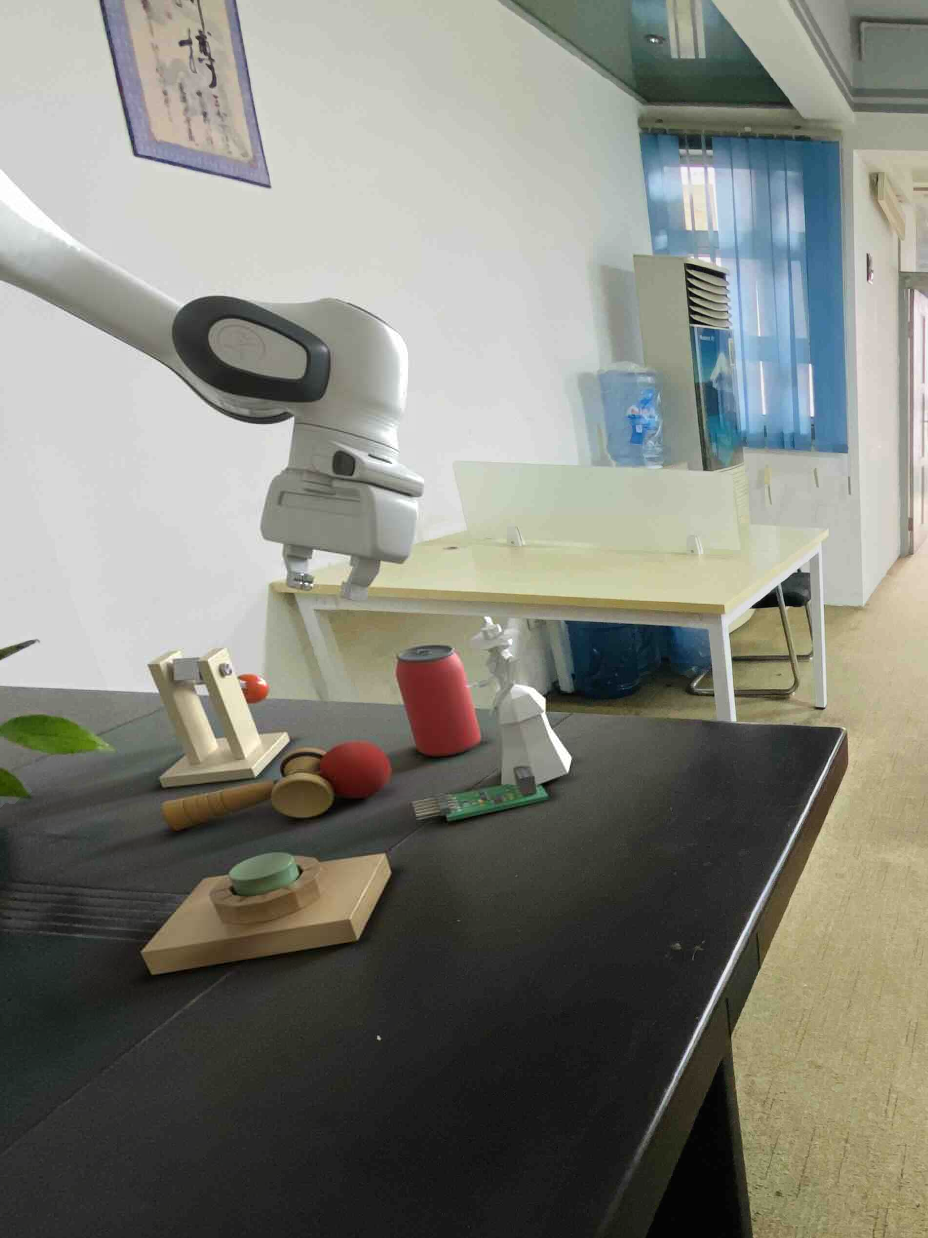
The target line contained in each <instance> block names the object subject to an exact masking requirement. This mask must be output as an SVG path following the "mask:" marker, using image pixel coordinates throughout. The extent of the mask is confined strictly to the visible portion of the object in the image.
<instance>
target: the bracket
mask: <svg viewBox="0 0 928 1238" xmlns="http://www.w3.org/2000/svg"><path fill="white" fill-rule="evenodd" d="M179 658H184V656H183V654H182V653H181V650H169V651H166V652H165V653H163V654H162V655H160V656H158V657H157V658H155V659H153V660H152V661H151V662H150V661H149V663H147V664H146V665H147V667H148V670H149V673H150V674H151V677H152V679H153V682H154V685H155V686H156V689H157V691H158V693H159V696H160V698H161V701H162V703H163V706H164V707H165V710H166V713H167V716H168V717H169V720H170V722H171V724H172V727H173V729H174V731H175V734H176V736H177V738H178V739H177V740H178V741H179V744H180V746H181V749H182V751H183V753H184V755H183V757H180V759H179V760H177V761H176V762H175V763H174V764H172V766H171V767H170V768H168V769H167V770H166V771H165V772H164V773H163V774H162V775H160V776H159V777H158V780H159V782H160V784H161V786H162V788H171V787H181V786H189V785H190V786H191V785H198V784H210V783H219V782H228V781H237V780H246V779H255V778H256V777H258V776H259V774H260V773H261V772H262V771H263V770H264V769H265V768H266V767H267V766H268V765H269V764H270V763H271V761H272V760H273V759H274V758H276V756H277V755H278V754H279V753H280V752H281V751H282V750H283V748H285V747H286V745H288V744H289V742H290V737H289V734H288V732H287V731H283V732H271V733H261V734H259V732H258V729H257V726H256V724H255V721H254V718H253V716H252V714H251V711H250V708H249V704H247V703H246V700H245V697H244V695H243V692H242V689H241V687H240V684H239V681H238V679H237V676H238V675H237V674H236V670H235V668H234V666H233V662H232V660H231V657H230V655H229V652H228V650H227V648H226V647H215V648H213V649H212V650H210V651H209V652H207V653H206V654H204V655H203V656H202V657H199V658H200V659H199V660H197V661H196V663H197V665H198V668H199V670H200V673H201V675H202V678H203V680H204V683H205V684H204V686H205V688H206V690H207V692H208V695H209V698H210V700H211V703H212V706H213V708H214V710H215V713H216V716H217V718H218V721H219V723H220V726H221V728H222V731H223V733H224V736H225V737H219V738H216V737H215V734H214V732H213V729H212V727H211V725H210V722H209V719H208V716H207V715H206V711H205V709H204V707H203V705H202V703H201V700H200V697H199V695H198V692H197V690H196V687H195V685H191V686H190V685H187V684H183V683H180V682H176V681H174V673H173V661H172V659H179Z"/></svg>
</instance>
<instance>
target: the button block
mask: <svg viewBox="0 0 928 1238" xmlns="http://www.w3.org/2000/svg"><path fill="white" fill-rule="evenodd" d="M292 856H293V858H294V861H295V863H296V866H297V868H298V871H299V874H300V876H299V879H298V880H296V881H294V882H293V883H291V884H289V885H288V886H286V887H284V888H281V889H278V890H275V891H273V892H270V893H267V894H263V895H256V896H250V897H243V896H238V895H237V894H236V892H235V889H234V887H233V884H232V882H231V880H230V877H229V874H226V875H224V874H223V875H218V876H211V877H204V878H202V880H201V881H200V882H199V883H198V884H197V885H196V887H195V888H194V889H193V890H192V892H190V894H189V895H188V896H187V897H186V898H185V900H184V901H182V903H181V904H180V905H179V907H178V908H177V909H176V910H175V911H174V912H173V914H172V915H171V916H170V917H169V918H168V920H167V921H166V922H165V923H164V924H163V925H162V926H161V928H160V929H159V930H158V931H157V932H156V934H155V935H154V936H153V937H152V938H151V939H150V940H149V942H148V943H147V944H146V945H145V947H144V948H143V949H142V950H141V951H140V955H141V957H142V959H143V961H144V962H145V965H146V966H147V969H148V970H149V973H150V974H151V975H152V976H155V975H161V974H166V973H168V974H169V973H172V972H180V971H185V970H190V969H197V968H203V967H208V966H214V965H221V964H226V963H233V962H238V961H245V960H250V959H257V958H263V957H268V956H274V955H280V954H286V953H292V952H298V951H304V950H310V949H316V948H321V947H322V948H323V947H328V946H333V945H334V946H335V945H340V944H346V943H347V944H348V943H352V942H357V941H359V939H360V937H361V935H362V933H363V931H364V929H365V926H366V925H367V922H368V921H369V919H370V917H371V915H372V912H373V911H374V909H375V907H376V905H377V903H378V901H379V899H380V897H381V895H382V893H383V891H384V889H385V887H386V886H387V883H388V881H389V879H390V877H391V875H392V871H391V868H390V864H389V861H388V858H387V855H386V853H375V854H370V855H369V854H368V855H363V856H362V855H361V856H355V857H348V858H340V859H333V860H326V861H319V860H318V859H317V858H316V857H309V856H304V855H292Z"/></svg>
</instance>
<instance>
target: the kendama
mask: <svg viewBox="0 0 928 1238" xmlns="http://www.w3.org/2000/svg"><path fill="white" fill-rule="evenodd" d="M392 770H393V769H392V766H391V762H390V760H389V758H388V756H387V754H386V753H385V752H384V751H383V750H382V749H381V748H380V747H378V746H377V745H374V744H372V743H370V742H366V741H357V740H356V741H346V742H342V743H339V744H337V745H335V746H333V747H332V748H330V749H329V750H327V751H324V750H323V749H320V748H317V747H298V748H295V749H293V750H291V751H289V752H287V753H286V754H285V755H284V756H283V757H282V759H281V761H280V764H279V772H280V775H281V776H282V777H281V778H279V779H274V780H269V781H263V782H256V783H250V784H244V785H239V786H233V787H229V788H225V789H222V790H215V791H212V792H207V793H202V794H198V795H192V796H188V797H183V798H178V799H172V800H167V801H163V802H162V804H161V807H160V808H161V809H160V811H161V814H162V817H163V820H164V822H165V823H166V824H167V826H168V827H169V828H170V829H171V830H173V831H174V832H175V831H176V832H178V831H182V830H185V829H187V828H190V827H193V826H195V825H198V824H202V823H204V822H207V821H210V820H213V819H217V818H219V817H224V816H227V815H228V814H231V813H235V812H239V811H241V810H245V809H248V808H250V807H253V806H256V805H259V804H261V803H264V802H266V801H269V800H270V801H271V804H272V807H273V808H274V809H275V810H276V811H277V812H279V813H280V814H282V815H284V816H287V817H291V818H296V819H308V818H313V817H316V816H320V815H322V814H323V813H325V812H326V811H327V810H329V808H330V807H331V806H332V804H333V801H334V797H335V795H336V796H339V797H342V798H345V799H362V798H366V797H369V796H372V795H374V794H376V793H378V792H379V791H381V790H382V789H383V788H384V787H385V786H386V785H387V783H388V782H389V780H390V778H391V776H392Z"/></svg>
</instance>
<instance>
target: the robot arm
mask: <svg viewBox="0 0 928 1238" xmlns="http://www.w3.org/2000/svg"><path fill="white" fill-rule="evenodd" d="M0 281H2V282H3V283H6V284H8V285H10V286H13V287H16V288H18V289H20V290H23V291H25V292H27V293H29V294H32V295H34V296H35V297H37V298H40V299H41V300H44V301H45V302H47V303H49V304H50V305H53V306H55V307H57V308H59V309H60V310H62V311H64V312H67V313H68V314H70V315H72V316H74V317H75V318H78V319H80V320H82V321H83V322H85V323H87V324H88V325H91V326H93V327H95V328H97V329H98V330H100V331H102V332H104V333H106V334H107V335H109V336H111V337H112V338H115V339H118V340H119V341H121V342H123V343H125V344H126V345H128V346H130V347H132V348H134V349H136V350H137V351H139V352H141V353H143V354H145V355H146V356H148V357H150V358H152V359H154V360H155V361H157V362H159V363H161V364H162V365H164V366H165V367H166V368H167V369H169V370H170V371H171V372H173V373H174V374H175V375H176V376H177V377H178V378H179V379H180V380H182V381H183V383H184V384H185V385H186V386H188V388H189V389H190V390H191V391H192V392H193V393H194V394H195V395H196V396H198V397H199V399H201V401H203V402H204V403H205V404H207V405H208V406H209V407H211V408H212V409H213V410H215V411H216V412H218V413H220V414H222V415H223V416H226V417H228V418H230V419H233V420H235V421H239V422H243V423H247V424H254V425H273V424H274V425H275V424H279V423H282V422H285V421H288V420H290V419H292V418H294V419H293V420H294V421H293V428H292V433H291V442H290V447H289V456H288V461H287V466H286V467H285V468H284V469H282V470H281V471H280V473H279V474H277V475H275V476H274V477H273V478H272V480H271V481H270V484H269V487H268V489H267V492H266V497H265V501H264V504H263V505H264V506H263V510H262V514H261V518H260V525H259V528H260V529H259V530H260V533H261V536H262V538H263V539H264V540H265V541H268V542H273V543H277V544H282V553H281V555H282V558H283V562H284V565H285V569H286V578H285V579H286V580H285V585H286V587H287V588H289V589H292V590H293V589H294V590H298V591H299V590H300V591H306V592H310V591H312V589H313V586H314V585H313V583H314V579H315V575H312V574H311V572H310V562H309V560H312V559H313V553H314V550H315V551H321V552H325V553H326V552H327V553H332V554H338V555H344V556H350V560H349V566H350V567H352V568H351V571H350V573H349V575H348V577H347V580H346V581H341V584H340V592H339V595H340V597H341V598H342V599H344V600H347V601H354V602H359V603H364V602H366V601H367V600H368V595H369V588H370V586H371V585H372V583H373V582H374V581H375V579H376V578H377V576H378V575H379V573H380V570H381V562H383V563H391V564H397V565H403V564H405V562H406V561H407V560H408V558H409V557H410V556H411V554H412V552H413V548H414V543H415V538H416V532H417V526H418V518H419V504H418V502H417V500H416V499H415V498H421V497H422V496H423V494H424V491H425V479H424V478H423V477H422V476H420V475H419V474H417V473H416V472H414V471H413V470H411V469H409V468H408V467H406V466H405V465H403V464H402V463H401V462H399V461H398V459H399V452H400V448H399V441H398V428H399V425H400V423H401V421H402V419H403V417H404V415H405V411H406V405H407V397H408V388H409V372H410V371H409V368H410V367H409V366H410V365H409V354H408V350H407V349H408V348H407V346H406V344H405V343H406V342H405V341H404V340H403V338H402V337H401V336H400V334H399V333H398V332H397V330H396V329H394V328H393V327H392V326H390V325H389V324H388V323H387V322H386V321H384V320H383V319H381V318H380V317H378V316H377V315H375V314H373V313H372V312H370V311H367V310H366V309H364V308H362V307H361V306H358V305H355V304H353V303H350V302H346V301H344V300H341V299H338V298H333V297H323V298H321V299H320V298H319V299H318V300H313V301H308V302H293V303H292V302H290V303H289V302H288V303H285V302H283V303H281V302H280V303H279V302H268V301H267V302H266V301H257V300H251V299H244V298H243V299H242V298H240V297H239V298H238V297H234V296H228V295H207V296H202V297H199V298H195V299H193V300H191V301H189V302H188V303H186V304H184V303H182V302H181V301H179V300H177V299H175V298H173V297H172V296H170V295H168V294H166V293H165V292H163V291H161V290H160V289H158V288H156V287H154V286H153V285H151V284H149V283H148V282H146V281H144V280H143V279H141V278H139V277H137V276H136V275H135V274H132V273H131V272H128V271H127V270H125V269H124V268H122V267H120V266H118V265H117V264H115V263H113V262H112V261H110V260H109V259H106V258H105V257H103V256H101V255H100V254H98V253H96V252H95V251H93V250H92V249H90V248H89V247H87V246H86V245H84V244H83V243H81V242H80V241H78V240H77V239H75V238H74V237H73V236H72V235H70V234H69V233H68V232H66V231H65V230H64V229H63V228H61V227H60V226H59V225H57V223H55V222H54V221H53V220H52V219H51V218H50V217H49V216H48V215H47V214H46V213H44V212H43V211H42V210H41V209H40V208H39V207H38V206H37V205H36V204H35V203H34V202H33V201H32V200H31V199H30V198H29V197H28V196H27V195H26V194H25V193H24V192H23V191H22V190H21V189H20V188H19V187H18V186H17V185H16V183H14V182H13V180H12V179H11V178H10V177H8V175H7V174H6V173H5V172H4V171H3V170H2V169H1V168H0Z"/></svg>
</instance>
